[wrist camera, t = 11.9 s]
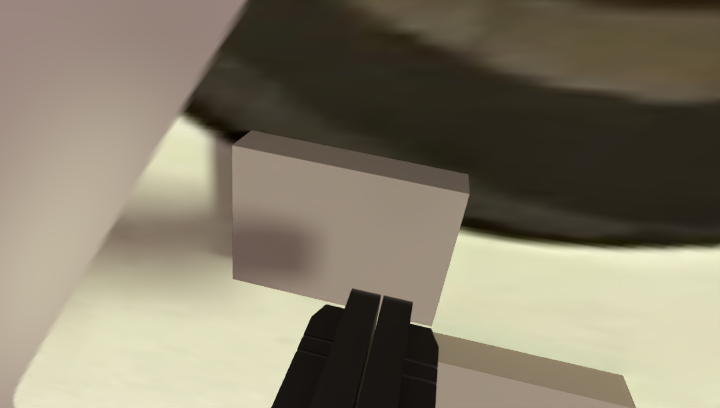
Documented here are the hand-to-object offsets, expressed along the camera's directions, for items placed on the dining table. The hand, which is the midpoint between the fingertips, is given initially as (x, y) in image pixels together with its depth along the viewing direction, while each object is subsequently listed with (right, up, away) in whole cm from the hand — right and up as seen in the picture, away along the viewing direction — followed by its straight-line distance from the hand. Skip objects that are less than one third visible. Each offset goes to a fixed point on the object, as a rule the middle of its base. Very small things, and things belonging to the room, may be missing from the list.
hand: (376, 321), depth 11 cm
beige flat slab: (+2, +1, +3) cm, 4 cm away
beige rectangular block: (+9, -6, +5) cm, 12 cm away
